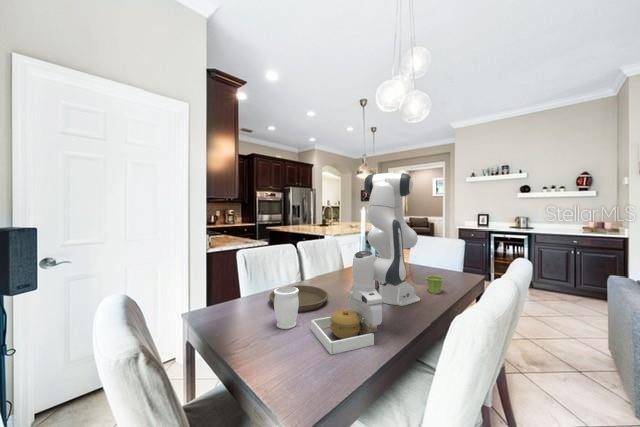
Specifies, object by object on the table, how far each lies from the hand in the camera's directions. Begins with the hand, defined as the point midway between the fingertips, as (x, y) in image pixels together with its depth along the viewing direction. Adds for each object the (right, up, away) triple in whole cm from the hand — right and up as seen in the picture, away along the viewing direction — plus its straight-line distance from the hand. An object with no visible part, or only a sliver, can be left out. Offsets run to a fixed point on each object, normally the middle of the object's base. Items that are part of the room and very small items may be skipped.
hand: (363, 326), depth 105 cm
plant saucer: (-28, -2, +34) cm, 44 cm away
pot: (-7, -3, -3) cm, 8 cm away
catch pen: (-9, -2, -4) cm, 10 cm away
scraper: (+2, -2, +1) cm, 3 cm away
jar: (-32, -2, +7) cm, 32 cm away
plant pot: (+50, -1, +49) cm, 70 cm away
